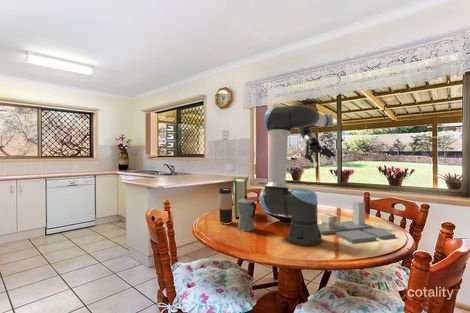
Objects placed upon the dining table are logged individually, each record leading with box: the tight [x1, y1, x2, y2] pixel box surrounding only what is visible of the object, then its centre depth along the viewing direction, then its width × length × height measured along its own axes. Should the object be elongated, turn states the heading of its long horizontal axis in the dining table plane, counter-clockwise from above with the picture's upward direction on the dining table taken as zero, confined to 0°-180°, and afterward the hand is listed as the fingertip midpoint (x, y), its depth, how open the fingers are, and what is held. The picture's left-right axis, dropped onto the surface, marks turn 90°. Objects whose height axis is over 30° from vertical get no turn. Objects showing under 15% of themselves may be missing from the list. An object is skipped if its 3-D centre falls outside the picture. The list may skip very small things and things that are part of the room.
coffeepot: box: [237, 195, 257, 232], centre depth 133 cm, size 15×9×18 cm, turn 33°
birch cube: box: [321, 213, 340, 229], centre depth 130 cm, size 6×6×6 cm
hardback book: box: [232, 177, 248, 218], centre depth 164 cm, size 18×7×24 cm, turn 3°
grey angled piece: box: [318, 200, 374, 236], centre depth 131 cm, size 30×12×14 cm, turn 105°
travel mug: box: [218, 187, 233, 223], centre depth 146 cm, size 8×8×20 cm
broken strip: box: [335, 227, 396, 244], centre depth 119 cm, size 24×11×2 cm, turn 105°
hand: (326, 165), depth 147 cm, fingers open, 13 cm apart
